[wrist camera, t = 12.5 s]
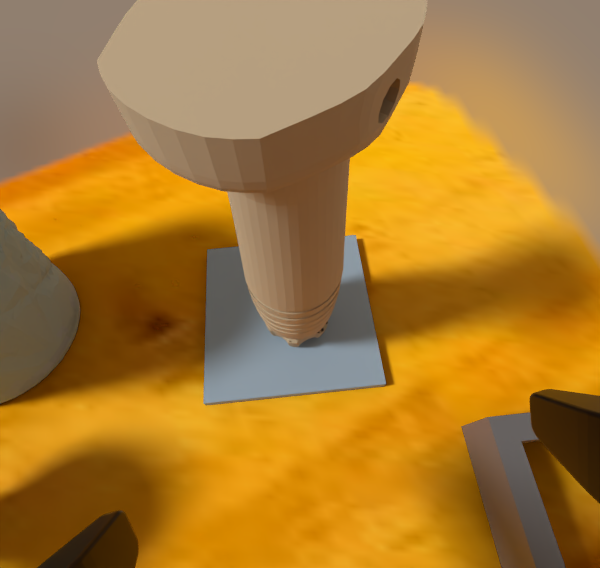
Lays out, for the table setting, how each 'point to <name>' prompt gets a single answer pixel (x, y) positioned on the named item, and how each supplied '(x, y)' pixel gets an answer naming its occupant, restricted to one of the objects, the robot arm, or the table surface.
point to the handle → (268, 123)
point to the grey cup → (31, 313)
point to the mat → (275, 350)
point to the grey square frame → (511, 492)
